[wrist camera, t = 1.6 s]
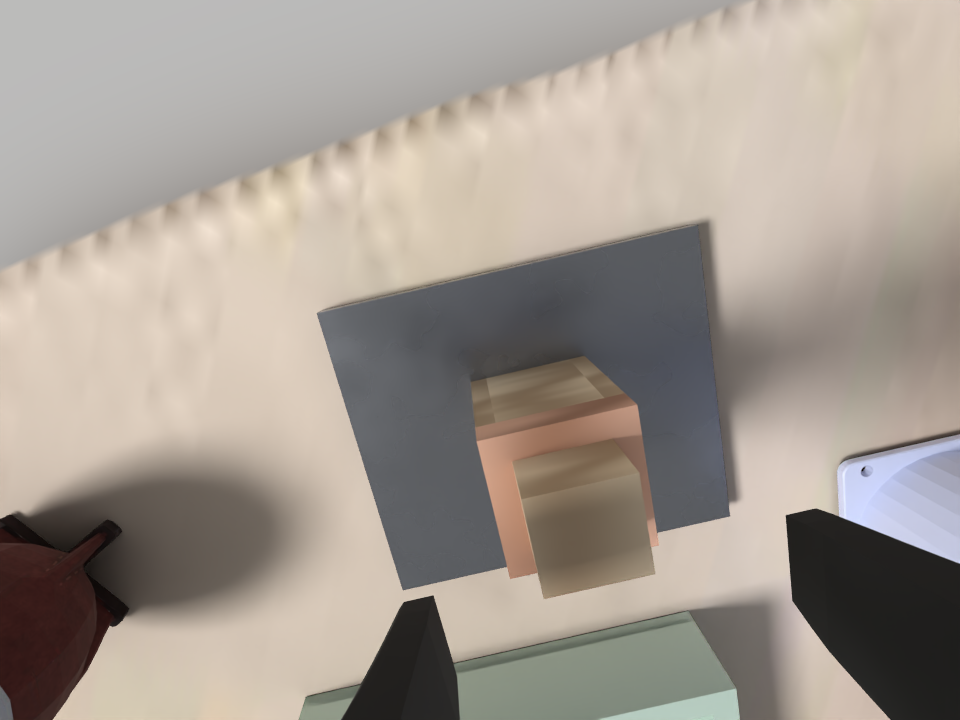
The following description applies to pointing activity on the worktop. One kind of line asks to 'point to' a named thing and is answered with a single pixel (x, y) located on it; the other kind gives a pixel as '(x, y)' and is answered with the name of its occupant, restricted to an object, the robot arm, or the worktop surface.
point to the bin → (588, 679)
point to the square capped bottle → (566, 475)
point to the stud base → (514, 347)
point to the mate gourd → (49, 618)
